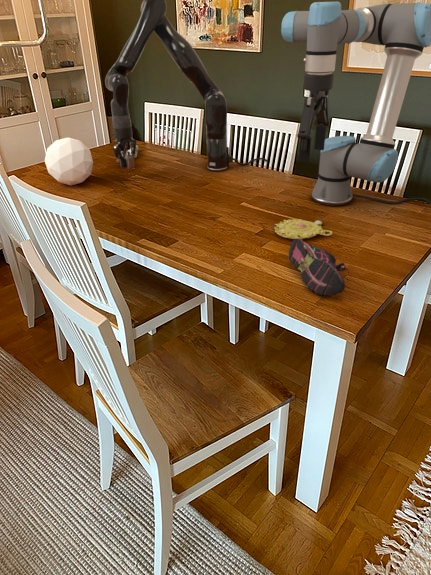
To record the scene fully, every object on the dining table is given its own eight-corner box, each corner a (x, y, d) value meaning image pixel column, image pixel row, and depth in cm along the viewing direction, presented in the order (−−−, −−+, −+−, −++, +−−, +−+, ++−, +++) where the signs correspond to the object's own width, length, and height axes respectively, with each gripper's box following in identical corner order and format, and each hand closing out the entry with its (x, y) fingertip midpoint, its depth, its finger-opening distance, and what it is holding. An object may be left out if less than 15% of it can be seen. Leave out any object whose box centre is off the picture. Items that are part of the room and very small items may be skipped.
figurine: (121, 147, 205) (136, 136, 231) (111, 160, 208) (127, 147, 235) (133, 159, 207) (147, 145, 233) (123, 171, 210) (137, 157, 237)
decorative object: (286, 211, 157) (342, 219, 147) (286, 217, 158) (341, 226, 148) (260, 233, 142) (319, 243, 133) (260, 240, 144) (319, 251, 134)
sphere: (65, 197, 199) (41, 157, 196) (104, 175, 201) (80, 136, 198) (57, 189, 180) (29, 146, 177) (100, 165, 182) (73, 122, 180)
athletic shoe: (331, 285, 107) (371, 277, 111) (291, 223, 118) (328, 219, 123) (315, 312, 115) (352, 304, 120) (279, 253, 127) (314, 247, 131)
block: (126, 165, 197) (124, 155, 194) (135, 166, 195) (134, 156, 192) (120, 167, 194) (119, 157, 191) (129, 169, 192) (128, 158, 189)
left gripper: (125, 121, 191) (130, 160, 201) (104, 128, 181) (110, 169, 190) (139, 122, 188) (144, 162, 198) (118, 130, 178) (124, 172, 187)
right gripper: (319, 66, 124) (312, 143, 136) (288, 78, 106) (283, 166, 117) (346, 67, 121) (336, 145, 133) (318, 80, 103) (310, 169, 114)
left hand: (127, 166), depth 194 cm, fingers closed on block, 4 cm apart
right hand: (311, 155), depth 125 cm, fingers open, 13 cm apart
